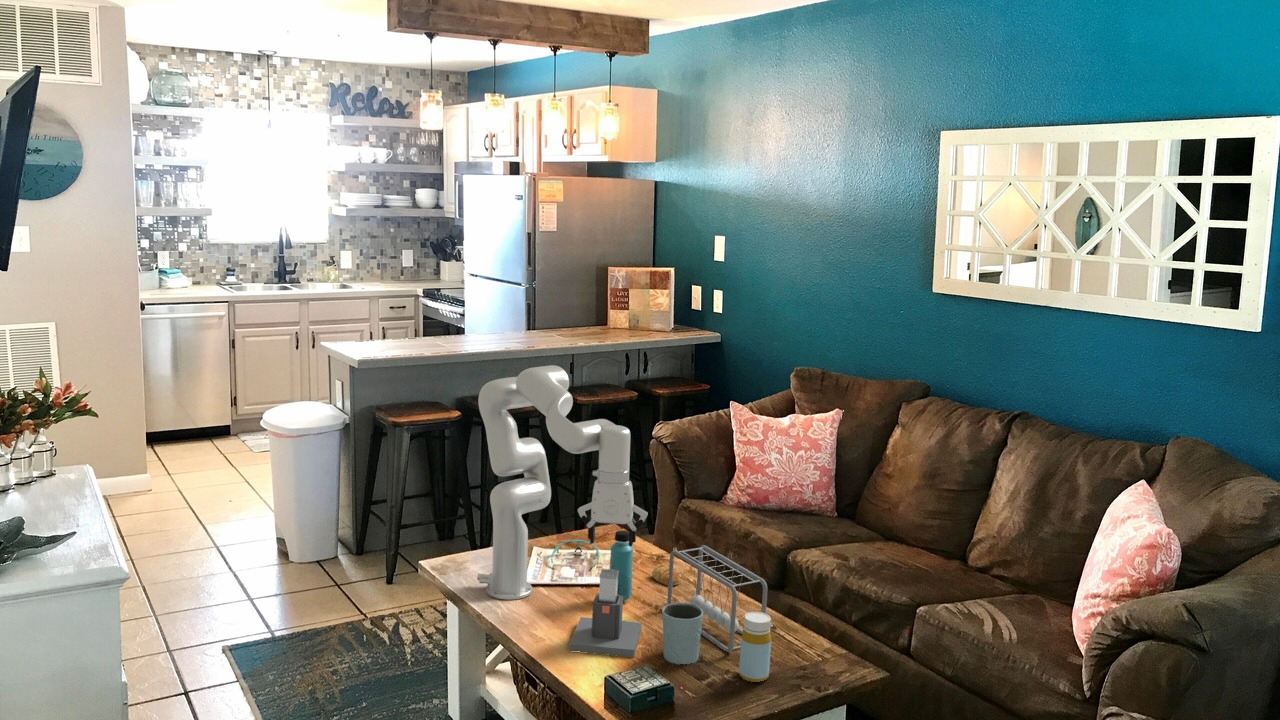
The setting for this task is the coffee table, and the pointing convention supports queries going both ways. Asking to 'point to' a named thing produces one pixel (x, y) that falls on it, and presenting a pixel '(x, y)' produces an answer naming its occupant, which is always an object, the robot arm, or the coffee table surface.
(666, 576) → the pastry
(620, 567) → the beverage bottle
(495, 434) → the robot arm
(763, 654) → the bottle
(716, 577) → the newton's cradle
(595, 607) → the stand base
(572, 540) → the teal thin curved band
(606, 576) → the stand column
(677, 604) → the grey cup
